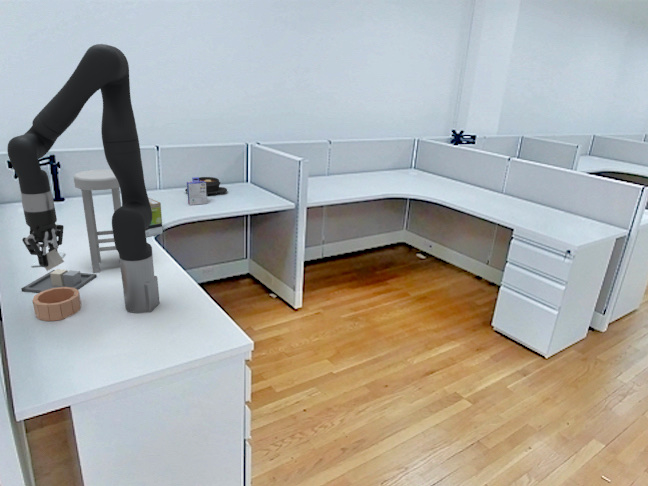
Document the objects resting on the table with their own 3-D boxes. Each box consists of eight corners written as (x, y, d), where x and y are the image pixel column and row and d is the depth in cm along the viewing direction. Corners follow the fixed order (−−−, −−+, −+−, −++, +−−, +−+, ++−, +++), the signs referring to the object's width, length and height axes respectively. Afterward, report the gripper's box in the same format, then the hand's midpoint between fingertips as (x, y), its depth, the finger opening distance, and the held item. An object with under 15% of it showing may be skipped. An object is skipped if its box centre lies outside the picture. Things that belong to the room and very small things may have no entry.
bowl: (89, 304, 141) (87, 289, 139) (64, 323, 130) (61, 307, 128) (54, 300, 142) (51, 285, 140) (26, 318, 131) (23, 302, 129)
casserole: (183, 196, 264) (183, 182, 261) (186, 189, 281) (185, 176, 278) (227, 196, 269) (227, 183, 266) (227, 189, 286) (227, 176, 283)
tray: (97, 277, 158) (96, 274, 157) (68, 297, 144) (67, 293, 143) (54, 273, 160) (53, 269, 159) (22, 292, 146) (21, 288, 145)
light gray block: (81, 283, 153) (80, 271, 151) (75, 288, 149) (73, 275, 148) (72, 282, 153) (70, 270, 151) (65, 286, 150) (62, 274, 148)
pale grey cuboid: (64, 261, 133) (55, 248, 132) (55, 266, 130) (46, 253, 129) (55, 266, 134) (46, 253, 133) (47, 271, 131) (37, 257, 130)
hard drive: (56, 264, 164) (65, 252, 176) (31, 265, 162) (41, 253, 173) (57, 268, 165) (65, 255, 176) (31, 270, 163) (42, 257, 174)
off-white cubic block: (69, 282, 153) (67, 270, 152) (62, 286, 150) (60, 274, 148) (59, 281, 153) (57, 268, 152) (52, 285, 150) (50, 273, 149)
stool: (88, 260, 171) (75, 169, 159) (132, 256, 177) (123, 168, 165) (86, 277, 158) (71, 179, 146) (133, 271, 164) (123, 177, 152)
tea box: (163, 233, 204) (161, 202, 198) (142, 238, 197) (139, 205, 191) (147, 225, 213) (145, 195, 208) (127, 229, 206) (123, 198, 201)
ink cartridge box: (205, 201, 256) (203, 176, 251) (207, 204, 252) (206, 178, 247) (187, 202, 252) (185, 177, 247) (189, 205, 247) (188, 179, 242)
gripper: (32, 215, 119) (43, 274, 125) (68, 201, 132) (77, 255, 138) (6, 213, 120) (19, 272, 126) (45, 199, 133) (54, 253, 139)
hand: (49, 263), depth 132 cm, fingers closed on pale grey cuboid, 3 cm apart
